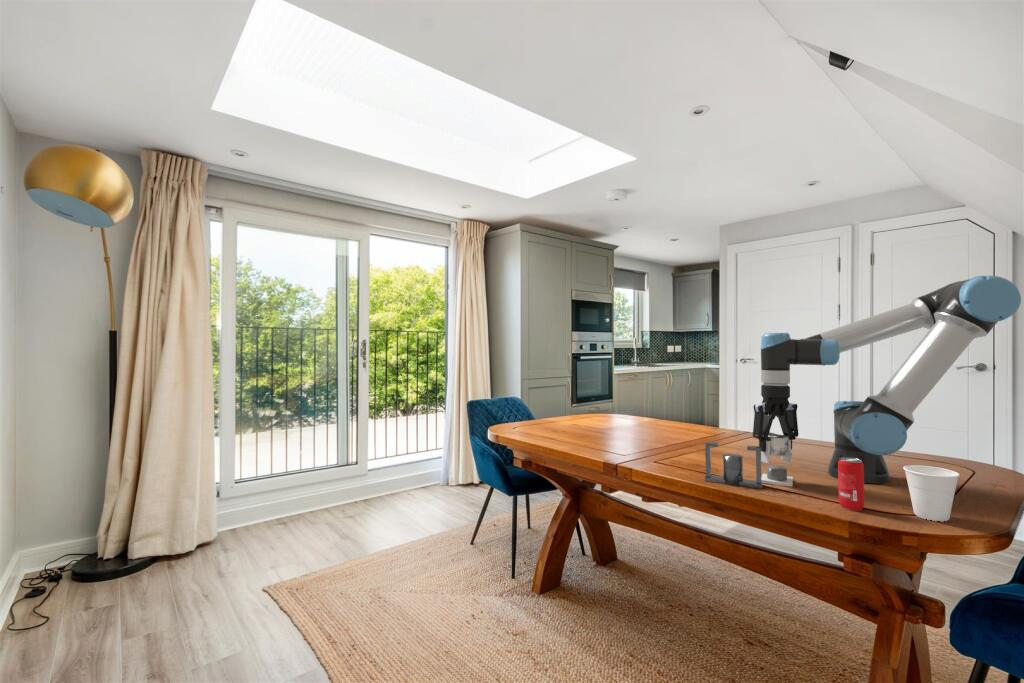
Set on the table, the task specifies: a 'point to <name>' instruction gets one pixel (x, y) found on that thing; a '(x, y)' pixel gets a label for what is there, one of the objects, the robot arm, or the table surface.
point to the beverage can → (851, 483)
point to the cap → (779, 445)
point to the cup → (931, 491)
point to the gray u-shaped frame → (733, 468)
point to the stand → (777, 476)
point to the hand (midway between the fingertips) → (775, 461)
